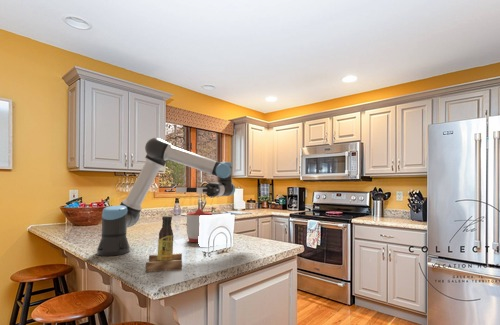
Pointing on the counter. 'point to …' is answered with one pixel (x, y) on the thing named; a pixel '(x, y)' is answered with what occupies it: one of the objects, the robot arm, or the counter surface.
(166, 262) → the groove board
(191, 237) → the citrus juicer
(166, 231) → the sauce bottle
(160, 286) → the counter surface
